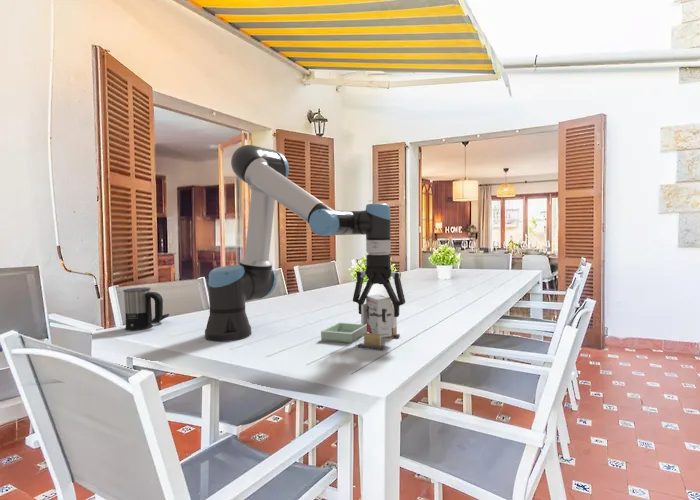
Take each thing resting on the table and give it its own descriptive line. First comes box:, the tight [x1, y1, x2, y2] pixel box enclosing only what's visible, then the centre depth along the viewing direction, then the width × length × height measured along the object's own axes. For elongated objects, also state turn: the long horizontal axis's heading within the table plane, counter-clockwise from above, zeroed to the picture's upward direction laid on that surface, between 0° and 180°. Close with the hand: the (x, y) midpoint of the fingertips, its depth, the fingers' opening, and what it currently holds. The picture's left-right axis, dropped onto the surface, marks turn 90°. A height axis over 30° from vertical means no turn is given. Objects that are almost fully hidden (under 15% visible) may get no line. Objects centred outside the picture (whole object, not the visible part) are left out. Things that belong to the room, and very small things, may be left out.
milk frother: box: [123, 286, 170, 332], centre depth 162 cm, size 14×16×15 cm
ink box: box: [365, 293, 392, 338], centre depth 133 cm, size 8×5×12 cm, turn 23°
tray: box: [320, 322, 368, 344], centre depth 140 cm, size 11×14×3 cm
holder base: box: [357, 333, 401, 351], centre depth 133 cm, size 8×16×1 cm, turn 156°
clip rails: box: [363, 328, 395, 345], centre depth 133 cm, size 5×14×4 cm, turn 156°
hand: (378, 325), depth 133 cm, fingers closed on ink box, 9 cm apart
